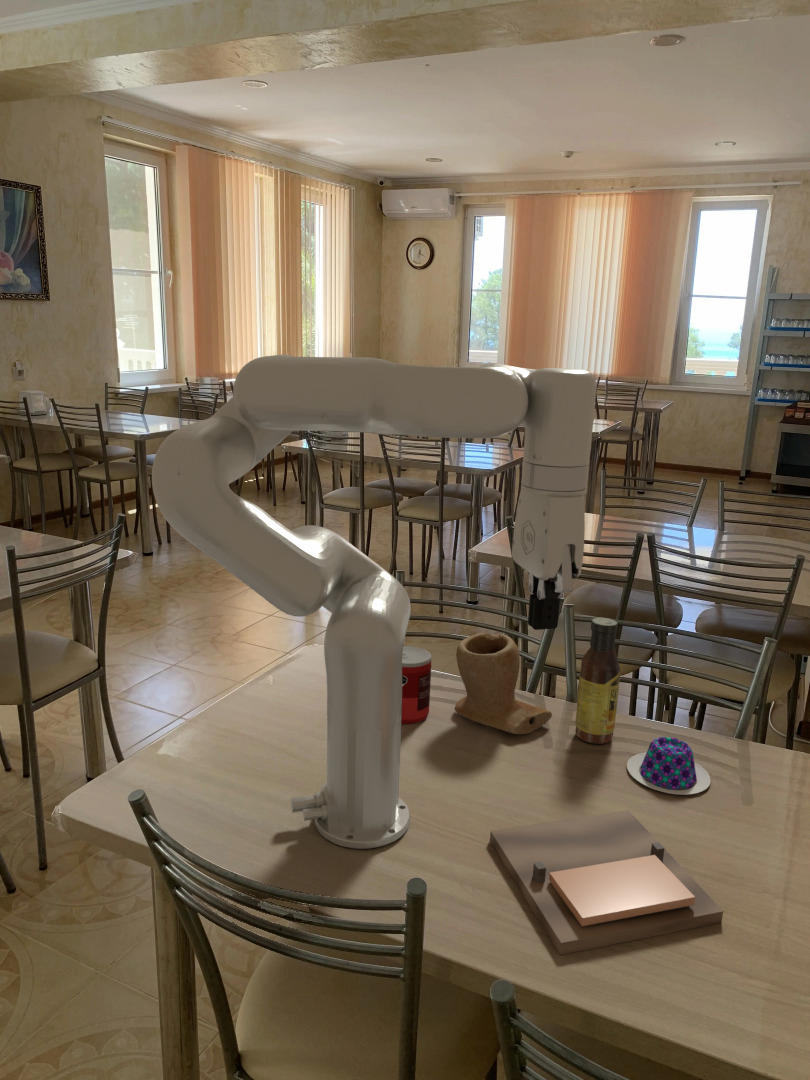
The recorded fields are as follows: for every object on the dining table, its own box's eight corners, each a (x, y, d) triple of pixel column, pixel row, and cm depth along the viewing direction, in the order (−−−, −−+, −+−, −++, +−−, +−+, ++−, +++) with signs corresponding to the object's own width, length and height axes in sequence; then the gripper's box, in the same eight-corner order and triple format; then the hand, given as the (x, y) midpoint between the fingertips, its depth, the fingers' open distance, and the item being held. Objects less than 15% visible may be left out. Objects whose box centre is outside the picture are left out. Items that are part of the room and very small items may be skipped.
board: (489, 840, 103) (491, 818, 102) (627, 819, 109) (629, 798, 108) (560, 954, 85) (562, 928, 84) (721, 922, 90) (725, 897, 89)
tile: (582, 918, 86) (581, 927, 86) (695, 896, 90) (694, 906, 90) (549, 872, 93) (548, 881, 94) (654, 854, 97) (653, 863, 98)
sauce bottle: (614, 748, 127) (627, 631, 122) (574, 743, 129) (585, 627, 123) (612, 729, 134) (624, 617, 129) (574, 724, 135) (584, 613, 130)
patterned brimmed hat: (615, 756, 126) (619, 725, 124) (689, 755, 127) (693, 725, 125) (643, 799, 114) (647, 766, 113) (724, 798, 115) (729, 766, 114)
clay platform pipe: (438, 719, 135) (442, 636, 131) (478, 697, 144) (483, 618, 140) (514, 751, 126) (521, 662, 122) (552, 725, 134) (560, 641, 131)
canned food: (376, 706, 139) (378, 647, 136) (420, 701, 141) (423, 643, 138) (389, 727, 132) (391, 665, 129) (435, 722, 134) (438, 661, 131)
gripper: (499, 467, 98) (490, 608, 103) (553, 491, 85) (540, 653, 89) (555, 466, 100) (543, 604, 105) (617, 489, 87) (600, 648, 91)
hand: (542, 626), depth 97 cm, fingers closed
